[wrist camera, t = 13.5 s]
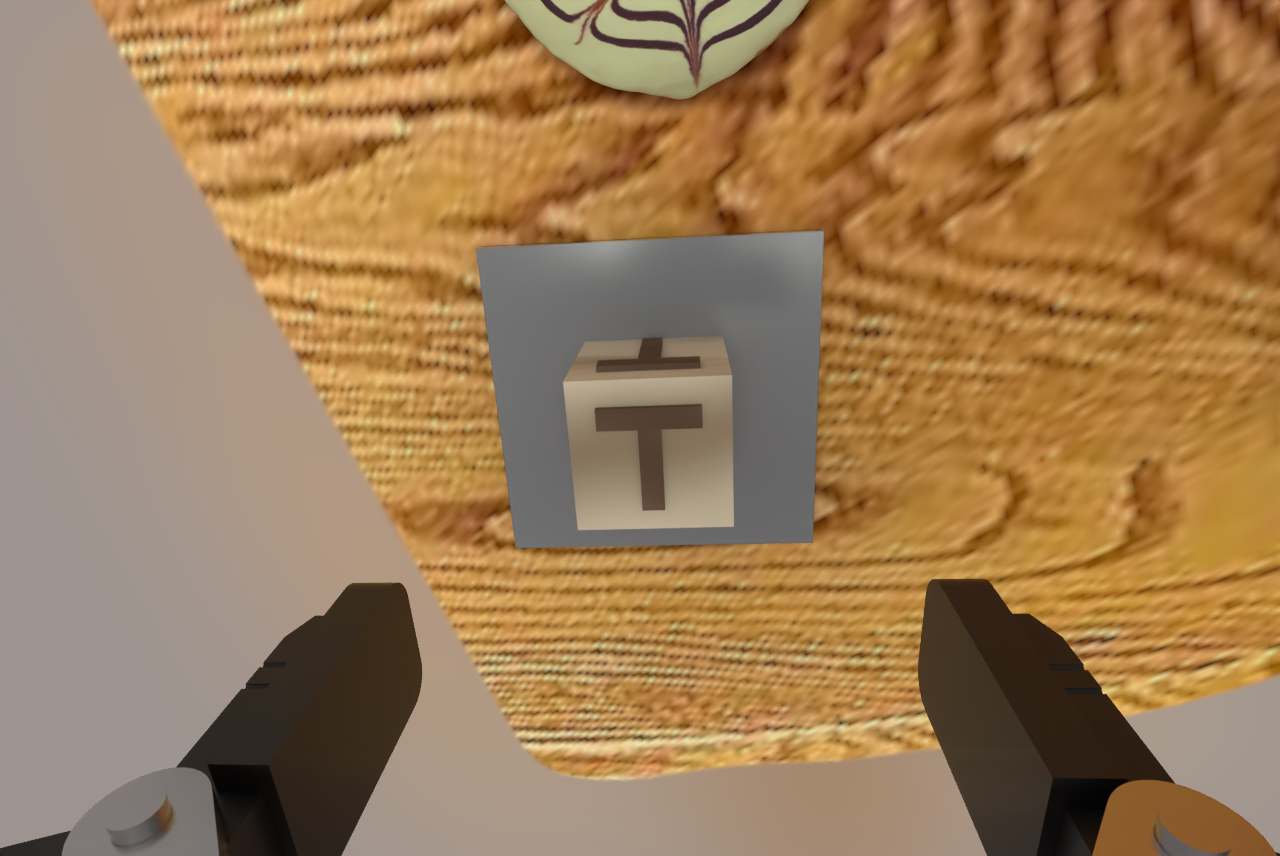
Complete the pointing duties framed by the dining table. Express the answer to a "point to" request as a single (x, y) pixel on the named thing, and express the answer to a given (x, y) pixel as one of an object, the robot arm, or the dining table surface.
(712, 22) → the decorated donut
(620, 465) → the letter block
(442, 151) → the dining table surface
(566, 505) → the slate coaster
